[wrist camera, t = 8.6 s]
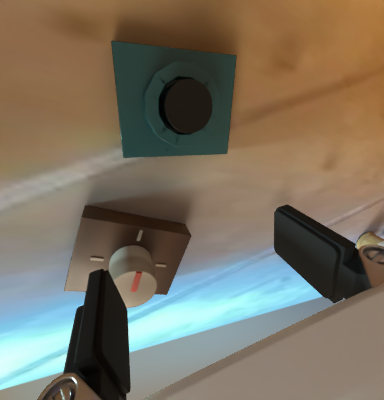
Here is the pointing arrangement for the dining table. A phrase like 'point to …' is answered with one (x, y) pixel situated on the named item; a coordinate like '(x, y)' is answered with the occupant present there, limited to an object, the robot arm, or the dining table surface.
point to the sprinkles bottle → (369, 240)
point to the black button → (186, 106)
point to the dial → (133, 275)
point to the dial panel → (121, 237)
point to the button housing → (153, 92)
